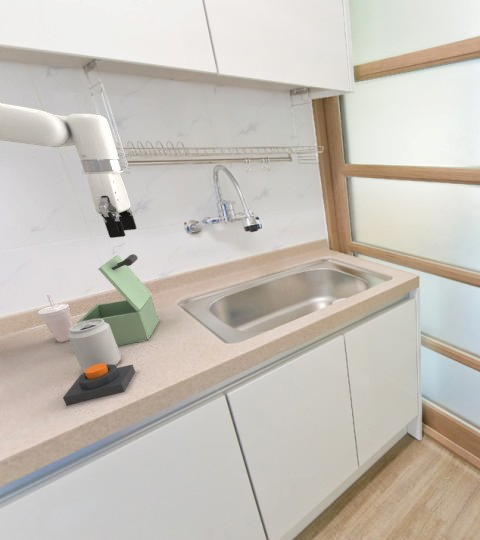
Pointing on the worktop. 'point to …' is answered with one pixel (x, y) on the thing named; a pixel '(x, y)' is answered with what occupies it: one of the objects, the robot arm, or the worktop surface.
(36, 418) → the worktop surface
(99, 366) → the button
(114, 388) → the control block
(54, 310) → the smoothie
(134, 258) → the lid
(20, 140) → the robot arm
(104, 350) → the can
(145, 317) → the green hinged box
